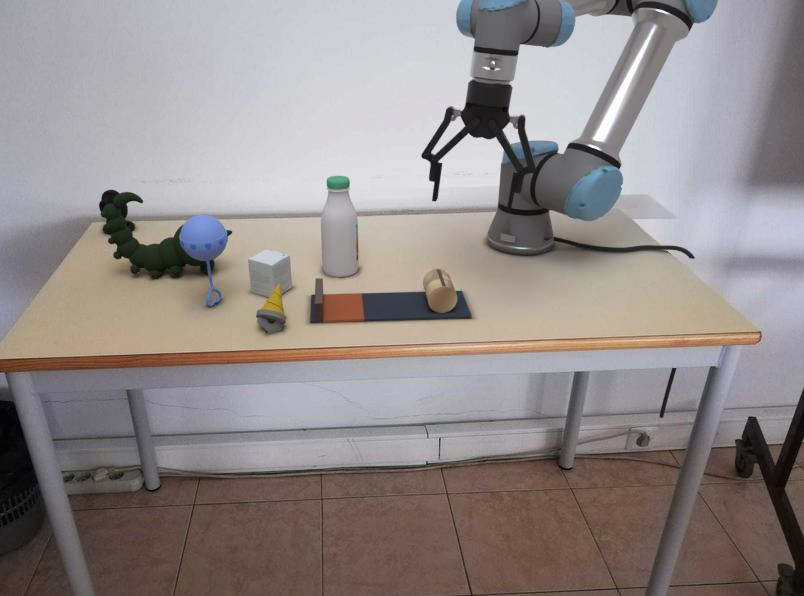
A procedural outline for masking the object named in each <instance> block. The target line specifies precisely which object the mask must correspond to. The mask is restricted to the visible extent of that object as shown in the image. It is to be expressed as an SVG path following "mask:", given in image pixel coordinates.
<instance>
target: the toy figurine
mask: <svg viewBox="0 0 804 596" xmlns="http://www.w3.org/2000/svg"><path fill="white" fill-rule="evenodd" d="M119 193H120V194H118V195H116V196H115V197H114V200H113V203H114V204H107V205H106V206H105V207H104V208H103V212H101V211H100V216H101V218H104V219H106V220H105V224H103V226H104V228H105V230H110V231H111V235H110V237H108V239H107V243H108V244H109V245H116V250H115V251H113V254H112V256H113V258H114V259H115V260H121V259H122V258H124V259H127V260H128V261H129V263H130V264H131V265H130V267H129V271H130V273H132V274H134V275H137V274H139V273H140V272H141V269H145V270H146V271H147V272H149V275H150V276H151V278H152V279H153V278H154V279H157V278H160V276H161V273H163V272H166V270H169V274H171V275H172V276H174V277H179V276H180V275H181V274H182V272H183V268H184V267H186V266H190V267H196V268H197V267H199V270H200V271H201V272H202V273H204V274H208V270H207V264H206V261H200V260H196V259H194V258H192V257H191V256H189V255H188V254H187V253H186V252H185V250H184V249H183V248H182V246H181V244H180V239H179V236H180V233H181V229H182V227H183V225H184V224H185V223H183V224H181V225H180V226H179V227H178V229H176V231H175V233H174V235H173V236H171V237H166V238H164V239H163V240H161V241H160V242H159V243H151V244H148V245H147V244H144V243H140V241H139V240H138V239H137V238H135V237H134V235H133V230H132V231H131V230H130V229H129V228H128V227H127V223H126V220H127V219H126V218H124V217H123V216H122V215H121V210H120V208H122V207H124V206H125V205H126V204H127V205H128V204H129V203H131V202H137V203H139V204H143V203H144V200H143V198H142V197H141V196H140V195H138V194H136V193H134V192H132V191H123V192H119ZM226 231H227V235H228V237H230V236H231V235H232V234H233V230H230V229H226ZM214 260H215V259H213V260H209V263H210V269H211V273H212V272H213V271H214V270H215V261H214Z"/></svg>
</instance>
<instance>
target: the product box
mask: <svg viewBox="0 0 804 596" xmlns="http://www.w3.org/2000/svg"><path fill="white" fill-rule="evenodd" d="M247 263H248V271H249V272H248V273H249V281H250V292H251V293H252V294H256V295H258V296H259V295H260V296H264V297H267V298H269V297H270V295H271V294H272V292H273V291H274V289H275V288H276V286H277V285H278V284H279V283H280V288H281V295H282V294H284V293H286V292H287V291H289V290H290V289H292V288H293V279H292V266H291V265H292V264H291V255H290V254H288V253H285V252H284V253H283V252H279V251H275V250H272V249H264V250H263V251H261V252H259V253H257V254H255V255H253V256H251V257H249V258H248V259H247Z"/></svg>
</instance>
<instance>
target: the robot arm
mask: <svg viewBox="0 0 804 596" xmlns="http://www.w3.org/2000/svg"><path fill="white" fill-rule="evenodd" d="M718 3H719V0H460V2H459V3H458V6H457V9H456V13H455V16H456V17H455V20H456V23H455V24H456V27H457V29H458V31H459V32H460V34H461V35H463V36H464V37H466V38H472V39H474V43H473V51H472V55H471V61H470V62H471V63H470V68H469V77H470V78H471V80H469V82H468V83H467V88H466V89H467V90H466V96H465V102H464V103H465V104H464V107H463V109H459V108H456V107H454V106H452V105H449V106H447V108H446V109H445V113H444V117H443V120H442V122H441V123H440V125H439V126H438V128H437V129H436V131H435V133H434V134H433V136H432V137H431V139H430V141H429V142H428V143H427V145H426V146H425V148H424V150H423V152H422V153H421V154H420V155H421V158H422V159H423V160H426V161H427V162H429V165H430V166H429V174H428V181H429V182H432V183H433V189H432V196H431V201H432V202H437V201H438V199H439V192H440V185H441V178H442V177H441V176H442V169H443V162H440V160H442V159H443V158H444V157H445V156H446V155H447V154H448V153H449V152H450V151H451V150H453V148H455V147H456V146H457V145H458V144H459V143H460V142H461V141H462V140H463V139H464V138H466V136H468V135H470V136H471V137H472V138H474V139H475V138H476V139H479V138H483V139H485V140H492V139H496V140H497V142H498V143H499V144H500V147H501V148H502V149H503V152H502V157H501V162H500V172H499V186H498V187H499V188H498V198H497V199H498V201H497V209H496V211H495V214H494V216H493V219H492V221H491V223H490V225H489V228H488V229H487V233H486V243H487V245H488V246H489V247H490V248H492V249H494V250H496V251H499V252H501V253H505V254H511V255H517V256H533V255H541V254H544V253H547V252H549V251H551V249H553V247H554V243H555V242H556V243H561V244H565V245H569V246H573V247H576V248H580V249H587V250H593V251H601V252H611V253H612V252H614V253H625V252H626V253H627V252H635V251H642V250H656V251H675V252H680V253H683V254H684V255H685V256H686V257H688V259H692V260H695V259H696V257H695V255H694V254H693V253H692V252H691V251H689V250H688V249H687V248H685V247H682V246H679V245H667V244H666V245H659V244H658V245H657V244H655V245H654V244H643V245H640V244H639V245H634V246H625V247H623V246H621V247H617V246H602V245H595V244H587V243H582V242H579V241H578V242H577V241H574V240H570V239H566V238H561V237H557V236H555V234H554V230H553V225H552V219H551V215H550V213H551V212H550V211H552V212H556V213H557V214H561V215H564V216H567V217H568V218H570V219H573V220H580V221H583V222H593V221H596V220H599V219H600V218H603V217H604V216H605V215H607V213H609V212H610V211H611V210H612V208H613V207H614V206H615V205H616V203H617V202H618V200H619V198H620V197H621V196H620V195H621V193H622V190H623V187H622V185H623V184H624V176H623V173H622V172H621V167H622V165H623V162H622V160H621V157H620V152H621V151H622V148H623V147H624V145H625V142H626V141H627V138H628V137H629V135H630V133H631V130H632V129H633V127H634V125H635V123H636V121H637V119H638V117H639V116H640V113H641V111H642V109H643V107H644V105H645V103H646V101H647V99H648V97H649V95H650V94H651V92H652V90H653V87H654V85H655V84H656V81H657V79H658V77H659V76H660V73H661V72H662V69H663V68H664V65H665V63H666V62H667V60H668V58H669V55H670V54H671V51H672V50H673V48H674V46H675V44H676V42H679V41H682V40H684V39H687V38H688V36H689V34H690V32H691V29H692V28H693V26H694V24H701V23H705V22H706V21H707V20H709V19H710V18H711V17H712V15H713V14H714V13H715V11H716V9H717V6H718ZM585 15H589V16H592V17H602V16H608V15H609V16H622V17H631V20H632V23H633V29H632V31H631V33H630V35H629V37H628V38H627V41H626V43H625V45H624V47H623V49H622V52H621V53H620V55H619V57H618V59H617V62H616V63H615V65H614V67H613V69H612V72H611V74H610V76H609V77H608V80H607V82H605V83H606V84H605V85H604V88H603V89H602V92H601V94H600V95H599V98H598V100H597V102H596V104H595V105H594V107H593V110H592V112H591V114H590V116H589V118H588V120H587V122H586V124H585V126H584V128H583V130H582V132H581V133H580V136H579V137H578V138H576V139H573V140H571V141H569V142H568V144H567V146H566V148H565V150H564V152H563V153H560V152H559V150H560V148H559V144H558V142H557V141H554V140H553V141H552V140H529V137H528V134H527V130H526V120H527V119H526V118H527V117H526V115H525V114H519V115H510V111H509V110H510V105H511V99H512V93H513V89H514V88H513V85H512V84H511V83H512V82H514V80H515V76H516V70H517V64H518V60H519V53H520V52H519V51H520V47H521V45H523V46H531V47H532V46H533V47H542V48H546V49H549V48H556V47H560V46H563V45H564V44H566V42H568V41H569V40H570V38H571V37H572V35H573V33H574V30H575V26H576V18H577V17H582V16H585ZM459 117H460V118H461V120H462V123H463V125H464V127H462V128H461V129H460V130H459V131H458V132H457V133H456V134H455V135H454V136H453V137H452V138H451V139H450V140H449V141H448V142H446V144H445V145H443V147H441V148H440V149H439V150H438V151H437V152H436V153H432V152H433V150H434V149H435V148H436V146H437V144H438V143H439V141H440V140H441V138H442V136H443V135H444V133H445V132H446V130H447V129H448V128H449V126H450V124H451V122H455V121H456V120H457V118H459ZM509 124H512V126H513V127H512V128H514V129H515V130H517V134H518V138H519V141H518V142H517V141H516V142H513V143H510V141H509V139H508V137H507V135H506V133H505V131H504V129H505V128H507V126H508V125H509ZM677 368H678V367H677ZM677 368H672V367H671V370H670V374H669V378H668V381H667V385H666V388H665V392H664V395H663V400H662V403H661V407H660V412H659V415H658V416H659V418H660V419H663V418H664V417H665V412H666V408H667V405H668V401H669V396H670V393H671V389H672V384H673V382H674V379H675V375H676V372H677Z"/></svg>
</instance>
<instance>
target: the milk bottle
mask: <svg viewBox="0 0 804 596" xmlns="http://www.w3.org/2000/svg"><path fill="white" fill-rule="evenodd" d="M350 181H351V180H350V177H348V176H345V175H331V176H329V177H327V179H326V190H327V197H326V200H325V202H324V206H323V207H322V211H321V215H320V217H321V218H320V240H321V241H320V243H321V265H322V271H323V272H324V273H325V274H326V275H327V276H331V277H335V278H336V277H337V278H343V277H350V276H352V275H354V274H356V273H357V272H358V270H359V264H360V263H359V223H358V222H359V221H358V215H357V210H356V208H355V206H354V204H353V202H352V199H351V197H350V192H349V191H350V186H351V185H350V184H351V182H350Z"/></svg>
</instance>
